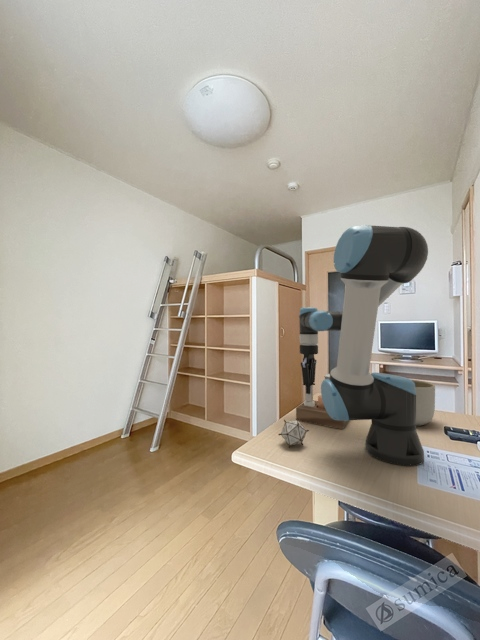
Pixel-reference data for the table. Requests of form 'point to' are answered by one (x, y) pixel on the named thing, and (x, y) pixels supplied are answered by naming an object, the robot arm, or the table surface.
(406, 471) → the table surface
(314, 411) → the walnut block
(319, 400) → the terracotta plug
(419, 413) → the planter
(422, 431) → the table surface
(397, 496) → the table surface
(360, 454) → the table surface
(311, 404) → the far grey plug
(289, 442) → the game die
